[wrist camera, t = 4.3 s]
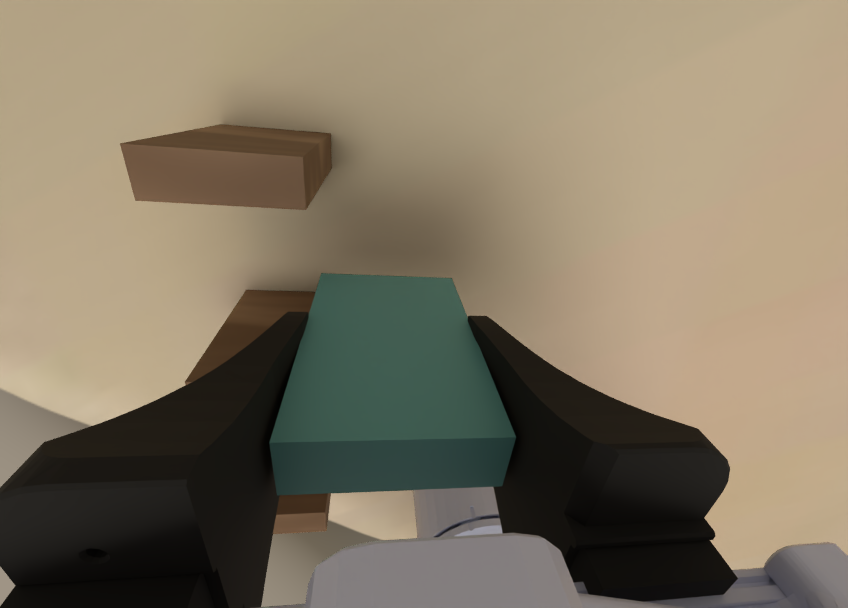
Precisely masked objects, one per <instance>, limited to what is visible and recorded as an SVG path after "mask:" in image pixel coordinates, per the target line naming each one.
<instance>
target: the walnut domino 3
mask: <svg viewBox="0 0 848 608" xmlns="http://www.w3.org/2000/svg"><path fill="white" fill-rule="evenodd" d="M330 496H331V493H326V494H301V495H280V497H279V502H278V508H277V513H276V519H275V524H274V530H273V534H282V533H298V532H316V531H326V530H327V522H328V513H329V505H330Z"/></svg>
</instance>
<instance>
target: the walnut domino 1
mask: <svg viewBox="0 0 848 608" xmlns="http://www.w3.org/2000/svg"><path fill="white" fill-rule="evenodd" d="M120 145H121V149H122V153H123V156H124V160H125V164H126V167H127V171H128V175H129V179H130V182H131V186H132V190H133V193H134V197H135V200H136V201H154V202H173V203H191V204H209V205H227V206H245V207H263V208H282V209H300V210H306V209H307V207H308V206H309V204H310V202H311V201H312V199H313V198H314V196H315V194H316V193H317V191H318V189H319V188H320V186H321V185H322V183H323V181H324V180H325V178H326V176H327V175H328V173H329V172H330V170H331V168H332V163H331V134H330V133H318V132H306V131H294V130H282V129H270V128H257V127H245V126H233V125H216V126H210V127H205V128H200V129H194V130H189V131H184V132H179V133H173V134H168V135H163V136H157V137H152V138H147V139H142V140H136V141H131V142H126V143H120Z"/></svg>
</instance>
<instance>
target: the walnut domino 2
mask: <svg viewBox="0 0 848 608" xmlns="http://www.w3.org/2000/svg"><path fill="white" fill-rule="evenodd" d="M315 293H316V292H298V291H261V290H246V291H245V293H244V294H243V296H242V297H241V299H240V300H239V302H238V303H237V305H236V306H235V308H234V309H233V311H232V312H231V314H230V315H229V317H228V318H227V320H226V321H225V323H224V324H223V326H222V327H221V329H220V330H219V332H218V333H217V335H216V336H215V338H214V339H213V341H212V342H211V344H210V345H209V347H208V348H207V350H206V351H205V353H204V354H203V356H202V357H201V359H200V360H199V362H198V363H197V365H196V366H195V368H194V369H193V371H192V372H191V374H190V375H189V377H188V378H187V380H186V381H185V384H186V385H188V384H190V383H191V382H193V381H195V380H197V379H199V378H200V377H202V376H204V375H205V374H207V373H209V372H210V371H212V370H214V369H215V368H217V367H218V366H220V365H221V364H223V363H224V362H226V361H227V360H229V359H230V358H231V357H233V356H234V355H235V354H237V353H238V352H239V351H241V350H242V349H244V348H245V347H246V346H248V345H249V344H250V343H251V342H253V341H254V340H255V339H256V338H258V337H259V336H260V335H261V334H262V333H264V332H265V331H266V330H267V329H268V328H269V327H270V326H272V325H273V324H274V323H275V322H276V321H277V320H279V319H280V318H281V317H282V316H283V315H284V314H286V313H287V312H308V314H309V312H310V309H311V306H312V302H313V299H314V296H315Z"/></svg>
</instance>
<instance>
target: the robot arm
mask: <svg viewBox="0 0 848 608" xmlns="http://www.w3.org/2000/svg"><path fill="white" fill-rule="evenodd" d="M308 318H309V314H308V312H287V313H286V314H284V315H283V316H282V317H281V318H280V319H279V320H277V321H276V322H275V323H274V324H273V325H272V326H270V327H269V328H268V329H267V330H266V331H265V332H264V333H262V334H261V335H260V336H259V337H258V338H256V339H255V340H254V341H253V342H251V343H250V344H249V345H248V346H246V347H245V348H244V349H242V350H241V351H239V352H238V353H237V354H235V355H234V356H233V357H231V358H230V359H229V360H227V361H226V362H224V363H223V364H221V365H220V366H218V367H217V368H215V369H214V370H212V371H210V372H209V373H207V374H205V375H204V376H202V377H200V378H199V379H197V380H195V381H193V382H191V383H190V384H188V385H186V386H184V387H182V388H180V389H178V390H176V391H174V392H172V393H170V394H168V395H166V396H164V397H162V398H160V399H158V400H156V401H154V402H151V403H149V404H147V405H144V406H142V407H140V408H138V409H135V410H133V411H130V412H128V413H125V414H123V415H120V416H118V417H116V418H113V419H110V420H108V421H105V422H102V423H100V424H97V425H94V426H91V427H88V428H85V429H82V430H80V431H77V432H74V433H71V434H68V435H65V436H62V437H59V438H56V439H53V440H50V441H47V442H44V443H43V444H42V445H41V446H40V447H39V448H38V449H37V450H36V451H35V452H34V453H33V454H32V455H31V456H30V457H29V458H28V459H27V461H25V463H24V464H23V465H22V466H21V467H20V468H19V469H18V470H17V471H16V472H15V473H14V474H13V475H12V476H11V477H10V478H9V479H8V480H7V481H6V482H5V483H4V484H3V485H2V486H1V488H0V566H1V567H2V569H3V570H4V571H5V573H6V574H7V575H8V576H9V578H10V579H11V580H12V582H13V583H14V584H15V585H16V586H15V587H14V589H13V590H12V591H11V593H10V594H9V595H8V597H7V598H6V599H5V601H4V602H3V604H2V605H1V606H0V608H848V556H847V555H846V554H845V553H844V552H843V551H842V550H841V549H840V548H839V547H838V546H837V545H836V544H834V543H830V542H827V543H812V544H798V545H790V546H786V547H783V548H781V549H779V550H777V551H776V552H775V553H773V554H772V555H771V556H770V558H769V559H768V560H767V561H766V563H765V565H764V568H752V569H739V570H731V568H730V567H729V566H728V564H727V563H726V562H725V560H724V559H723V558H722V556H721V555H720V554H719V552H718V551H717V550H716V548H715V547H714V546H713V544H712V543H711V542H710V540H713V539H714V537H715V532H714V530H713V529H712V528H711V526H710V525H709V524H708V523H707V521H706V520H705V519H704V517H705V516H706V514H707V513H708V512H709V510H710V509H711V507H712V506H713V505H714V503H715V502H716V500H717V499H718V498H719V496H720V495H721V493H722V492H723V490H724V488H725V486H726V484H727V483H728V478H729V472H730V467H729V464H728V461H727V459H726V458H725V457H724V456H723V455H722V454H721V453H720V452H719V450H718V449H717V448H716V447H715V446H714V445H713V444H712V443H711V442H710V441H709V440H708V439H707V438H706V437H705V436H704V435H703V434H702V432H701V431H700V430H699V429H697V428H694V427H691V426H688V425H685V424H682V423H679V422H675V421H672V420H669V419H666V418H663V417H660V416H657V415H654V414H651V413H649V412H646V411H643V410H641V409H638V408H636V407H633V406H631V405H628V404H626V403H623V402H621V401H619V400H616V399H614V398H612V397H609V396H607V395H605V394H603V393H601V392H599V391H597V390H595V389H593V388H591V387H589V386H587V385H585V384H583V383H581V382H579V381H577V380H576V379H574V378H572V377H571V376H569V375H567V374H565V373H564V372H562V371H560V370H559V369H557V368H555V367H554V366H552V365H551V364H549V363H548V362H546V361H545V360H543V359H542V358H541V357H539V356H538V355H536V354H535V353H534V352H532V351H531V350H529V349H528V348H527V347H525V346H524V345H523V344H522V343H520V342H519V341H518V340H516V339H515V338H514V337H513V336H511V335H510V334H509V333H508V332H507V331H505V330H504V329H503V328H502V327H500V326H499V325H498V324H497V323H495V322H494V321H493V320H491V319H490V318H489V317H487V316H468V323H469V326H470V328H471V331H472V333H473V336H474V338H475V340H476V342H477V344H478V345H479V347H480V349H481V352H482V354H483V357H484V359H485V362H486V364H487V367H488V369H489V372H490V374H491V377H492V379H493V381H494V384H495V386H496V389H497V391H498V394H499V396H500V399H501V401H502V404H503V406H504V409H505V411H506V413H507V416H508V418H509V421H510V423H511V426H512V428H513V431H514V433H515V436H516V440H515V443H514V447H513V450H512V454H511V457H510V460H509V464H508V467H507V471H506V474H505V478H504V481H503V485H502V486H499V487H474V488H450V489H425V490H413V494H414V505H415V516H416V526H417V537H418V538H416V539H399V540H382V541H372V542H367V543H362V544H357V545H353V546H348V547H344V548H342V549H341V550H339V551H338V552H336V553H334V554H333V555H331V556H330V557H328V558H326V559H325V560H323V561H322V562H321V563H319V564H318V565H317V566H316V567H315V569H314V572H313V574H312V577H311V579H310V582H309V584H308V590H307V597H306V604H296V605H283V606H271V607H261V603H262V597H263V591H264V584H265V578H266V572H267V566H268V559H269V553H270V547H271V541H272V535H273V530H274V524H275V519H276V513H277V508H278V502H279V497H280V495H277V492H276V485H275V478H274V472H273V465H272V458H271V451H270V444H269V442H270V439H271V436H272V432H273V429H274V426H275V423H276V419H277V416H278V413H279V410H280V406H281V403H282V400H283V397H284V393H285V390H286V387H287V384H288V380H289V377H290V374H291V371H292V367H293V364H294V361H295V358H296V354H297V351H298V348H299V345H300V341H301V339H302V337H303V335H304V331H305V328H306V325H307V321H308Z"/></svg>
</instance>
